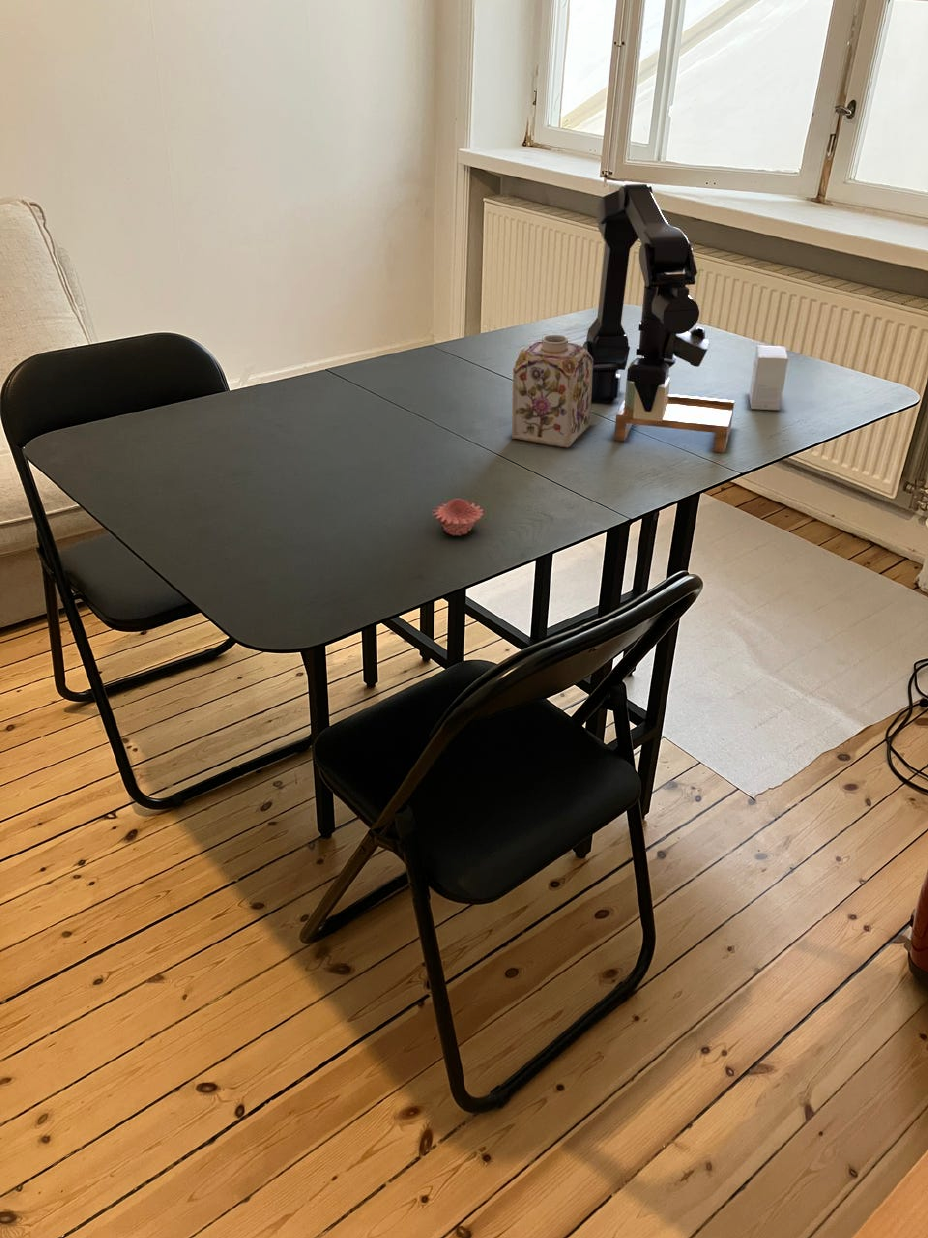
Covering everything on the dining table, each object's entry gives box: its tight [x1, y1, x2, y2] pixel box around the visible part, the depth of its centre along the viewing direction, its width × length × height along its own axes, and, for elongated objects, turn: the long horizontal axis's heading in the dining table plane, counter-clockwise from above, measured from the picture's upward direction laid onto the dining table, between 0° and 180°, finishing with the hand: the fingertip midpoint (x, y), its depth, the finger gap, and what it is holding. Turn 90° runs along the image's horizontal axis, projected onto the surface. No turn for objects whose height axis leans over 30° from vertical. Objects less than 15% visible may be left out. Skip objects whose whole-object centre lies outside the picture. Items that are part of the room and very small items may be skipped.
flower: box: [432, 498, 485, 536], centre depth 154 cm, size 8×8×6 cm
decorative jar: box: [511, 334, 594, 448], centre depth 184 cm, size 12×12×18 cm
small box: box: [749, 344, 789, 411], centre depth 197 cm, size 8×6×10 cm
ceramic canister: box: [624, 379, 636, 410], centre depth 185 cm, size 5×5×5 cm
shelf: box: [613, 393, 735, 453], centre depth 185 cm, size 20×11×6 cm, turn 72°
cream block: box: [633, 377, 671, 421], centre depth 172 cm, size 5×5×6 cm
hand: (650, 406), depth 172 cm, fingers closed on cream block, 5 cm apart
